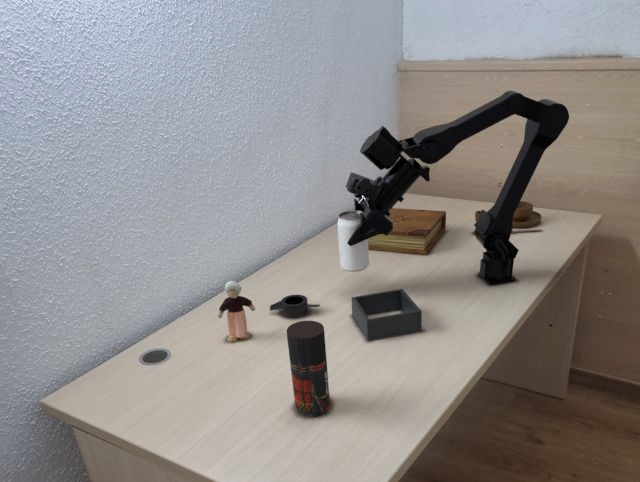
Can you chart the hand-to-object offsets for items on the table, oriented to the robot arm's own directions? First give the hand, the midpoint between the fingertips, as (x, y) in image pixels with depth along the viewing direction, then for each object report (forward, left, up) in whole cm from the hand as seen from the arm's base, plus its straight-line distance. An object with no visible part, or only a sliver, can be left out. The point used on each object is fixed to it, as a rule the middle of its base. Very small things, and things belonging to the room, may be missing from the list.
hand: (346, 239), depth 135 cm
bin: (-3, +17, -13) cm, 21 cm away
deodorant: (+18, +41, -13) cm, 46 cm away
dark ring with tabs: (+14, +5, -13) cm, 20 cm away
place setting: (-53, -28, -13) cm, 62 cm away
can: (-1, 0, -7) cm, 7 cm away
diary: (-21, -29, -13) cm, 38 cm away
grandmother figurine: (+27, +12, -13) cm, 32 cm away
